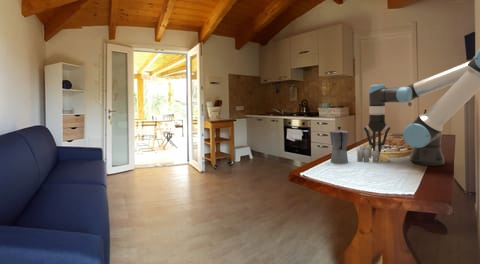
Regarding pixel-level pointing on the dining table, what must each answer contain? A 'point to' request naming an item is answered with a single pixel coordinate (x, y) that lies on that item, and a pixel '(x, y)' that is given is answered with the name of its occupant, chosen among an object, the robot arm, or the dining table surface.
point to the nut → (383, 158)
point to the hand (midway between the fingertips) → (376, 158)
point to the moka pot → (339, 146)
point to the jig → (367, 155)
